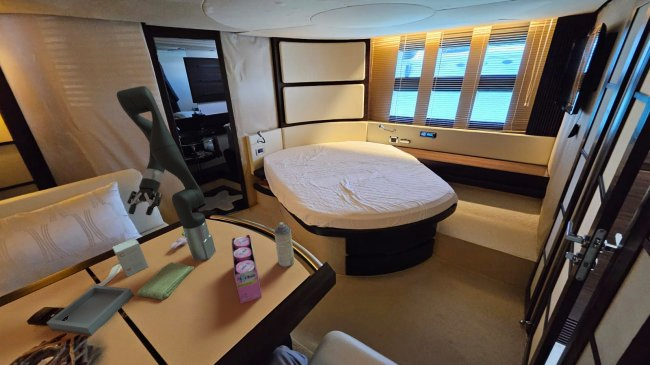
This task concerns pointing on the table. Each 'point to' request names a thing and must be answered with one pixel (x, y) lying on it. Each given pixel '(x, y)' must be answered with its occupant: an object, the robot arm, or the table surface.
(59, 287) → the table surface
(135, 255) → the small box
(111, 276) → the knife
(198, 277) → the table surface
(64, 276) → the table surface
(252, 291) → the gum box
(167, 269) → the washcloth
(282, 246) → the aerosol can
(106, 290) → the bin
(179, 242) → the pale purple eggplant
